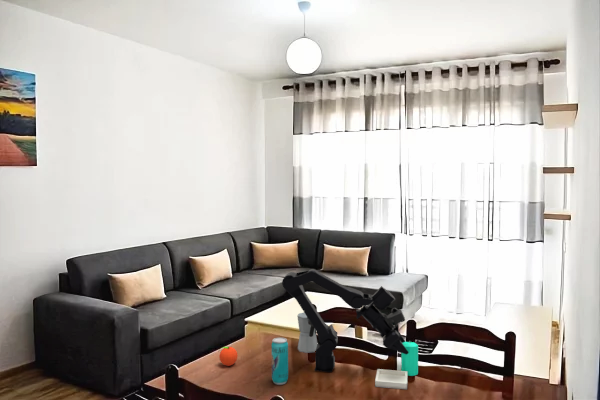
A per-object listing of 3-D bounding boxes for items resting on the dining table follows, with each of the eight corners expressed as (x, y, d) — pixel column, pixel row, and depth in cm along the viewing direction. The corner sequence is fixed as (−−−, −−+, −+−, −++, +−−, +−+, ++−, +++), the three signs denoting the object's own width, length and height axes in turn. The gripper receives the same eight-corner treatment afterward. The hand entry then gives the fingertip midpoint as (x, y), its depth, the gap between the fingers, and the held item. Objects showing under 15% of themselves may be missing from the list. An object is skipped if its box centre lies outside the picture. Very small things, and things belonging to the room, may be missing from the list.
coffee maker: (294, 345, 207) (293, 303, 207) (314, 343, 210) (313, 302, 209) (302, 357, 193) (302, 312, 192) (323, 355, 195) (323, 311, 194)
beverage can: (268, 381, 170) (268, 339, 170) (282, 377, 174) (281, 336, 173) (278, 387, 166) (277, 343, 165) (291, 382, 169) (291, 340, 169)
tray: (375, 386, 165) (375, 380, 165) (377, 374, 176) (377, 368, 176) (407, 389, 163) (407, 383, 163) (407, 376, 173) (407, 371, 173)
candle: (418, 376, 174) (418, 343, 173) (401, 375, 175) (401, 342, 174) (417, 369, 180) (417, 337, 179) (401, 368, 181) (401, 337, 180)
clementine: (213, 366, 184) (213, 348, 184) (223, 360, 191) (222, 342, 190) (232, 369, 181) (231, 350, 181) (241, 363, 188) (240, 344, 187)
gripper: (392, 310, 168) (425, 342, 167) (390, 297, 186) (420, 326, 185) (369, 331, 169) (402, 364, 168) (369, 316, 188) (399, 345, 187)
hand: (406, 348), depth 177 cm, fingers open, 9 cm apart
